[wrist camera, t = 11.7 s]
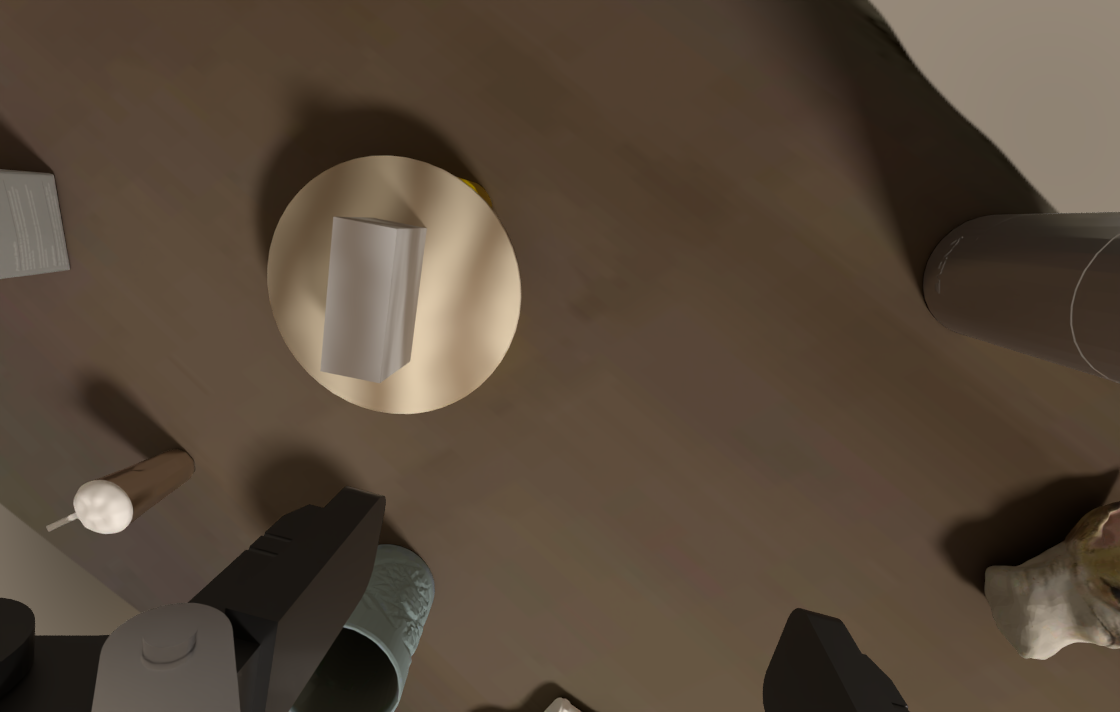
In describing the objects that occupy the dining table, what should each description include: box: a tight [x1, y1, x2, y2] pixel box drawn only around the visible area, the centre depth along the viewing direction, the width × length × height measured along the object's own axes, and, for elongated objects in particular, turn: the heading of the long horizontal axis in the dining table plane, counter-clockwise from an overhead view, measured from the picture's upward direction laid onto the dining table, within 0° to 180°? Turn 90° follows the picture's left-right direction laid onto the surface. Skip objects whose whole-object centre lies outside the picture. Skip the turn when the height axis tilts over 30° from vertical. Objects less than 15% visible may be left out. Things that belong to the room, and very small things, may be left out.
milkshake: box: [46, 449, 195, 534], centre depth 47 cm, size 4×5×10 cm
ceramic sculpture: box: [984, 501, 1120, 660], centre depth 44 cm, size 11×9×15 cm
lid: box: [267, 155, 522, 414], centre depth 39 cm, size 19×19×7 cm
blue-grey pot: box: [289, 544, 435, 712], centre depth 47 cm, size 10×10×12 cm
